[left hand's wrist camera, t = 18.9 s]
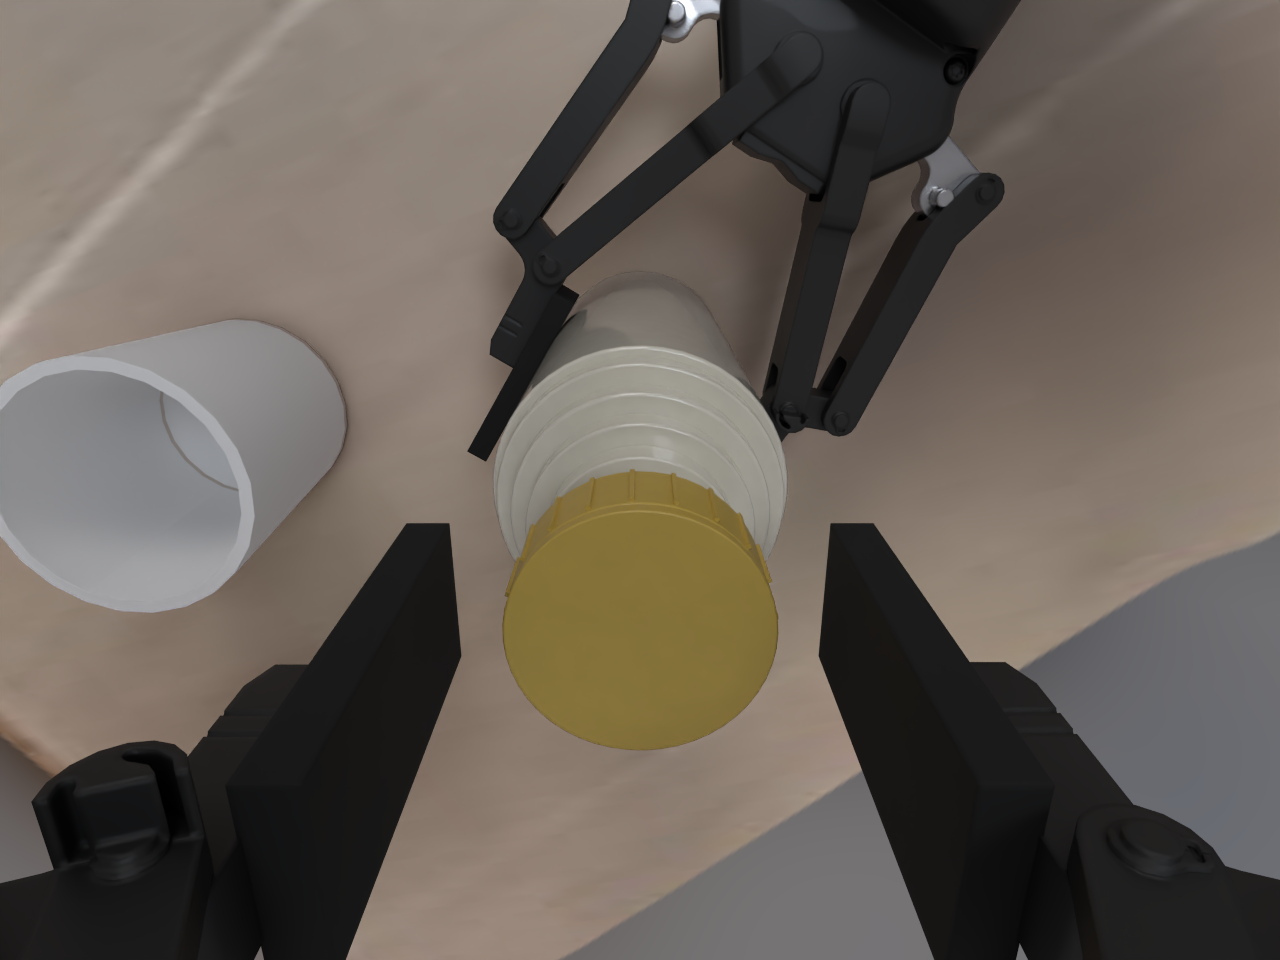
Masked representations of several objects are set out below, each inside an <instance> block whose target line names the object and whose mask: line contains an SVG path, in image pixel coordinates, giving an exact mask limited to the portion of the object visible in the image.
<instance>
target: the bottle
mask: <svg viewBox="0 0 1280 960" xmlns="http://www.w3.org/2000/svg"><path fill="white" fill-rule="evenodd" d="M630 469H635V471H642V472H657V473H664V474H670V475H671V473H676V476H677V477H680V478H684V479H687V480H689V481H691V482H694V483H696V484H698V485H701V486H702V487H704V488H706V489H709V487H710V488H711V489H713V491H714V494H716V495H717V496H718V497H719V498H721V499H722V500H723V501H725V502H726V503H727V504H728V505H729V506H730V507H731V508H732V509H733V510H734V511H735V512H736V513H737V514H738V513H739V512H740V513H741V514H742V516H743V519H744V523H745V525H746V526H747V528H748V530H749V532H750V533H751V535H752V537H753V539H754V541H755V544H756V545H757V544H759V545H760V547H761V550H762V553H763V556H764V559H765V562H766V560H767V558H768V557H769V555H770V553H771V551H772V548H773V546H774V544H775V542H776V539H777V536H778V533H779V529H780V526H781V522H782V518H783V515H784V512H785V505H786V499H787V478H788V476H787V468H786V460H785V455H784V451H783V448H782V444H781V440H780V438H779V436H778V433H777V431H776V429H775V426H774V424H773V422H772V420H771V418H770V417H769V415H768V413H767V411H766V410H765V408H764V406H763V404H762V402H761V401H760V399H759V397H758V395H757V394H756V392H755V390H754V388H753V386H752V385H751V383H750V381H749V379H748V378H747V376H746V374H745V372H744V370H743V369H742V367H741V365H740V363H739V362H738V360H737V358H736V356H735V354H734V353H733V351H732V349H731V347H730V346H729V344H728V342H727V340H726V338H725V337H724V335H723V333H722V331H721V330H720V328H719V326H718V324H717V322H716V321H715V319H714V317H713V315H712V314H711V312H710V310H709V309H708V307H707V305H706V304H705V303H704V302H703V301H702V299H701V298H700V297H699V296H698V295H697V294H696V293H695V292H694V291H693V290H691V289H690V288H689V287H687V286H686V285H685V284H683V283H681V282H679V281H677V280H676V279H674V278H671V277H668V276H666V275H663V274H658V273H654V272H644V271H638V272H627V273H622V274H618V275H615V276H612V277H609V278H607V279H605V280H603V281H601V282H599V283H598V284H596V285H595V286H593V287H592V288H590V289H589V290H588V291H587V292H586V293H585V294H583V295H582V296H581V298H580V299H579V300H578V301H577V302H576V303H575V305H574V306H573V308H572V309H571V311H570V313H569V315H568V317H567V318H566V320H565V322H564V324H563V325H562V327H561V329H560V331H559V333H558V334H557V336H556V338H555V340H554V341H553V343H552V345H551V346H550V348H549V350H548V352H547V353H546V355H545V357H544V359H543V361H542V362H541V364H540V366H539V368H538V369H537V371H536V373H535V375H534V377H533V378H532V380H531V382H530V384H529V385H528V387H527V389H526V391H525V393H524V394H523V396H522V398H521V400H520V402H519V403H518V405H517V407H516V409H515V410H514V412H513V414H512V416H511V418H510V419H509V422H508V424H507V426H506V428H505V430H504V432H503V434H502V437H501V440H500V443H499V446H498V450H497V453H496V458H495V464H494V471H493V493H494V502H495V509H496V512H497V516H498V520H499V524H500V527H501V531H502V534H503V538H504V540H505V542H506V545H507V547H508V550H509V552H510V554H511V555H512V557H513V559H514V561H515V562H516V559H517V557H520V556H521V553H522V550H523V547H524V544H525V541H526V538H527V535H528V532H529V529H530V526H531V525H532V524H534V525H536V523H537V521H538V520H539V519H540V518H541V516H542V515H543V514H544V513H545V512H546V511H547V509H548V508H549V507H551V506H552V505H553V504H554V502H555V498H556V497H558V496H559V497H560V498H561V497H562V496H564V495H565V494H567V493H568V492H570V491H571V490H573V489H575V488H577V487H579V486H580V485H582V484H584V483H586V482H589V481H590V478H592V477H594V478H595V479H597V478H600V477H603V476H607V475H612V474H616V473H623V472H630Z"/></svg>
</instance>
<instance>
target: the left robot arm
mask: <svg viewBox="0 0 1280 960" xmlns="http://www.w3.org/2000/svg"><path fill="white" fill-rule="evenodd" d="M460 658H461V647H460V636H459V625H458V614H457V602H456V591H455V580H454V569H453V558H452V547H451V536H450V525H449V523H407V524H406V525H405V526H404V528H403V529H402V531H401V532H400V534H399V535H398V536H397V538H396V539H395V541H394V542H393V544H392V545H391V547H390V548H389V549H388V551H387V552H386V554H385V555H384V557H383V558H382V560H381V561H380V562H379V564H378V565H377V567H376V568H375V570H374V571H373V573H372V574H371V575H370V577H369V578H368V580H367V581H366V583H365V584H364V586H363V587H362V588H361V590H360V591H359V593H358V594H357V596H356V597H355V599H354V600H353V601H352V603H351V604H350V606H349V607H348V609H347V610H346V611H345V613H344V614H343V616H342V617H341V619H340V620H339V622H338V623H337V624H336V626H335V627H334V629H333V630H332V632H331V633H330V635H329V636H328V637H327V639H326V640H325V642H324V643H323V645H322V646H321V648H320V649H319V650H318V652H317V653H316V655H315V656H314V658H313V659H312V661H311V662H310V663H309V665H274V666H273V667H271V668H270V669H268V670H267V671H265V672H264V673H262V674H261V675H259V676H258V677H256V678H255V679H253V680H252V681H251V682H249V683H248V684H246V685H245V686H244V687H243V688H242V689H241V690H240V692H239V693H238V694H237V695H236V697H235V698H234V699H233V700H232V702H231V703H230V704H229V705H228V707H227V708H226V709H225V710H224V716H220V717H219V718H218V719H217V721H216V722H215V723H214V724H213V726H212V727H211V728H210V729H209V731H208V736H207V737H203V738H202V739H201V741H200V742H199V743H198V745H197V746H196V747H195V748H194V750H193V751H192V752H191V753H190V755H189V756H188V757H187V754H186V753H185V752H183V751H182V750H181V749H180V748H179V747H177V746H176V745H175V744H170V743H164V742H159V741H144V742H133V743H126V744H122V745H119V746H116V747H112V748H109V749H105V750H102V751H98V752H96V753H94V754H92V755H90V756H88V757H86V758H84V759H82V760H80V761H78V762H76V763H74V764H71V765H70V766H68V767H67V768H66V769H64V770H63V771H61V772H60V773H59V774H57V775H56V776H55V777H53V778H52V779H51V780H49V781H48V782H47V783H46V784H45V785H44V786H43V788H42V789H41V790H40V791H39V793H38V794H37V795H36V797H35V798H34V799H33V800H32V805H33V808H34V811H35V814H36V817H37V820H38V823H39V826H40V829H41V832H42V835H43V838H44V841H45V844H46V847H47V850H48V853H49V856H50V859H51V862H52V865H53V868H54V870H52V871H48V872H45V873H42V874H38V875H34V876H30V877H26V878H21V879H17V880H13V881H8V882H4V883H0V960H254V959H255V957H256V955H257V952H258V951H259V948H260V947H261V948H262V952H263V957H264V960H346V958H347V955H348V952H349V950H350V947H351V944H352V942H353V939H354V936H355V934H356V931H357V929H358V926H359V923H360V921H361V918H362V915H363V913H364V910H365V908H366V905H367V902H368V900H369V897H370V894H371V892H372V889H373V887H374V884H375V881H376V879H377V876H378V873H379V871H380V868H381V866H382V863H383V860H384V858H385V855H386V852H387V850H388V847H389V845H390V842H391V839H392V837H393V834H394V831H395V829H396V826H397V824H398V821H399V818H400V816H401V813H402V810H403V808H404V805H405V803H406V800H407V797H408V795H409V792H410V789H411V787H412V784H413V782H414V779H415V776H416V774H417V771H418V768H419V766H420V763H421V761H422V758H423V755H424V753H425V750H426V747H427V745H428V742H429V740H430V737H431V734H432V732H433V729H434V726H435V724H436V721H437V719H438V716H439V713H440V711H441V708H442V705H443V703H444V700H445V698H446V695H447V692H448V690H449V687H450V684H451V682H452V679H453V677H454V674H455V671H456V669H457V666H458V663H459V661H460ZM819 658H820V661H821V663H822V666H823V669H824V671H825V674H826V677H827V679H828V682H829V684H830V687H831V690H832V692H833V695H834V698H835V700H836V703H837V705H838V708H839V711H840V713H841V716H842V719H843V721H844V724H845V726H846V729H847V732H848V734H849V737H850V740H851V742H852V745H853V747H854V750H855V753H856V755H857V758H858V761H859V763H860V766H861V768H862V771H863V774H864V776H865V779H866V782H867V784H868V787H869V789H870V792H871V795H872V797H873V800H874V802H875V805H876V808H877V810H878V813H879V816H880V818H881V821H882V824H883V826H884V829H885V831H886V834H887V837H888V839H889V842H890V844H891V847H892V850H893V852H894V855H895V858H896V860H897V863H898V866H899V868H900V871H901V873H902V876H903V879H904V881H905V884H906V887H907V889H908V892H909V894H910V897H911V900H912V902H913V905H914V907H915V910H916V913H917V915H918V918H919V921H920V923H921V926H922V929H923V931H924V934H925V936H926V939H927V942H928V944H929V947H930V950H931V952H932V955H933V957H934V960H1016V957H1017V952H1018V948H1019V943H1020V945H1021V946H1022V949H1023V951H1024V953H1025V954H1026V957H1027V958H1028V960H1280V880H1278V879H1274V878H1269V877H1265V876H1261V875H1257V874H1252V873H1248V872H1243V871H1240V870H1237V869H1233V868H1230V867H1227V866H1225V865H1224V864H1223V862H1222V861H1221V859H1220V858H1219V856H1218V855H1217V853H1216V852H1215V850H1214V849H1213V848H1212V847H1211V846H1210V845H1209V844H1208V843H1206V842H1205V841H1204V840H1203V839H1202V838H1201V837H1199V836H1198V835H1197V834H1196V833H1195V832H1193V831H1192V830H1191V829H1189V828H1188V827H1186V826H1184V825H1182V824H1180V823H1178V822H1177V821H1175V820H1173V819H1171V818H1169V817H1168V816H1166V815H1164V814H1161V813H1158V812H1155V811H1152V810H1149V809H1146V808H1143V807H1140V806H1136V805H1133V804H1132V802H1131V801H1130V800H1129V799H1128V797H1127V796H1126V795H1125V794H1124V792H1123V791H1122V790H1121V789H1120V787H1119V786H1118V785H1117V784H1116V782H1115V781H1114V780H1113V779H1112V777H1111V776H1110V775H1109V773H1108V772H1107V771H1106V770H1105V768H1104V767H1103V766H1102V765H1101V763H1100V762H1099V761H1098V760H1097V758H1096V757H1095V756H1094V755H1093V754H1092V752H1091V751H1090V750H1089V748H1088V747H1087V746H1086V745H1085V743H1084V742H1083V741H1082V740H1081V738H1080V737H1079V736H1078V735H1077V734H1073V728H1072V727H1071V726H1070V725H1069V723H1068V722H1067V721H1066V720H1065V718H1064V717H1063V716H1062V715H1061V713H1057V711H1056V707H1055V706H1054V705H1053V703H1052V702H1051V701H1050V700H1049V698H1048V697H1047V696H1046V695H1045V693H1044V692H1043V691H1042V690H1041V688H1040V687H1039V686H1038V685H1037V683H1035V682H1034V681H1032V680H1031V679H1029V678H1028V677H1026V676H1025V675H1023V674H1022V673H1020V672H1019V671H1017V670H1016V669H1014V668H1013V667H1012V666H1010V665H1009V664H1007V663H1006V662H969V661H968V659H967V658H966V656H965V655H964V653H963V652H962V650H961V649H960V648H959V646H958V645H957V643H956V642H955V640H954V639H953V637H952V636H951V635H950V633H949V632H948V630H947V629H946V627H945V626H944V624H943V623H942V622H941V620H940V619H939V617H938V616H937V614H936V613H935V611H934V610H933V609H932V607H931V606H930V604H929V603H928V601H927V600H926V599H925V597H924V596H923V594H922V593H921V591H920V590H919V588H918V587H917V586H916V584H915V583H914V581H913V580H912V578H911V577H910V575H909V574H908V573H907V571H906V570H905V568H904V567H903V565H902V564H901V562H900V561H899V560H898V558H897V557H896V555H895V554H894V552H893V551H892V549H891V548H890V547H889V545H888V544H887V542H886V541H885V539H884V538H883V536H882V535H881V534H880V532H879V531H878V529H877V528H876V526H875V525H874V524H873V523H831V525H830V536H829V547H828V558H827V569H826V580H825V591H824V602H823V614H822V625H821V636H820V647H819Z"/></svg>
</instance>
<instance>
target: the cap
mask: <svg viewBox="0 0 1280 960" xmlns="http://www.w3.org/2000/svg"><path fill="white" fill-rule="evenodd" d="M770 582H772V580H771V577H770V574H769V571H768V568H767V565H766V562H765V559H764V556H763V553H762V550H761V547H760V545H759V544H757V545H756V544H755V541H754V539H753V537H752V535H751V533H750V532H749V530H748V528H747V526H746V525H745V523H744V519H743V516H742V514H741V513H740V512H739V513H738V514H737V513H736V512H735V511H734V510H733V509H732V508H731V507H730V506H729V505H728V504H727V503H726V502H725V501H723V500H722V499H721V498H719V497H718V496H717V495H716V494H714V491H713V489H711V488H710V487H709V489H706V488H704V487H702V486H701V485H698V484H696V483H694V482H691V481H689V480H687V479H684V478H680V477H677V476H676V473H671V475H670V474H664V473H657V472H642V471H635V469H630V472H623V473H616V474H612V475H607V476H603V477H600V478H597V479H595V478H594V477H592V478H590V481H589V482H586V483H584V484H582V485H580V486H579V487H577V488H575V489H573V490H571V491H570V492H568V493H567V494H565V495H564V496H562V497H561V498H560V497H559V496H558V497H556V498H555V502H554V504H553V505H552V506H551V507H549V508H548V509H547V511H546V512H545V513H544V514H543V515H542V516H541V518H540V519H539V520H538V521H537V523H536V525H534V524H532V525H531V526H530V529H529V532H528V535H527V538H526V541H525V544H524V547H523V550H522V553H521V556H520V557H517V559H516V562H515V565H514V568H513V571H512V574H511V577H510V580H509V584H508V587H507V590H506V593H505V596H507V597H508V598H507V602H506V605H505V609H504V617H503V643H504V649H505V654H506V658H507V661H508V664H509V667H510V670H511V672H512V674H513V676H514V678H515V680H516V682H517V684H518V686H519V687H520V689H521V690H522V692H523V693H524V695H525V696H526V698H527V699H528V700H529V701H530V702H531V703H532V704H533V706H534V707H535V708H536V709H537V710H538V711H539V712H540V713H541V714H543V715H544V716H545V717H546V718H547V719H548V720H550V721H551V722H552V723H554V724H555V725H557V726H558V727H560V728H561V729H563V730H565V731H567V732H569V733H571V734H573V735H575V736H577V737H578V738H581V739H584V740H586V741H589V742H592V743H595V744H599V745H603V746H607V747H611V748H618V749H625V750H654V749H664V748H669V747H674V746H679V745H682V744H685V743H689V742H692V741H695V740H697V739H699V738H702V737H704V736H706V735H709V734H710V733H712V732H714V731H716V730H717V729H719V728H721V727H723V726H724V725H725V724H727V723H728V722H729V721H731V720H732V719H733V718H735V717H736V716H737V715H738V714H739V713H740V712H741V711H742V710H743V709H744V708H745V707H747V706H748V704H749V703H750V702H751V701H752V699H753V698H754V697H755V696H756V694H757V693H758V692H759V690H760V688H761V687H762V685H763V683H764V682H765V680H766V678H767V676H768V673H769V671H770V669H771V666H772V664H773V660H774V656H775V653H776V649H777V640H778V614H777V611H776V607H775V602H774V599H773V596H772V593H771V589H770V586H769V583H770Z"/></svg>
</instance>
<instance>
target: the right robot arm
mask: <svg viewBox="0 0 1280 960" xmlns="http://www.w3.org/2000/svg"><path fill="white" fill-rule="evenodd" d="M1020 1H1021V0H630V3H629V7H628V10H627V14H626V18H625V20H624V21H623V23H622V24H621V26H620V27H619V29H618V30H617V32H616V33H615V35H614V36H613V38H612V39H611V41H610V42H609V43H608V45H607V46H606V48H605V49H604V51H603V52H602V54H601V55H600V57H599V58H598V60H597V61H596V62H595V64H594V65H593V67H592V68H591V70H590V71H589V73H588V74H587V76H586V77H585V79H584V80H583V82H582V83H581V84H580V86H579V87H578V89H577V90H576V92H575V93H574V95H573V96H572V98H571V99H570V101H569V102H568V104H567V105H566V106H565V108H564V109H563V111H562V112H561V114H560V115H559V117H558V118H557V120H556V121H555V123H554V124H553V126H552V127H551V128H550V130H549V131H548V133H547V134H546V136H545V137H544V139H543V140H542V142H541V143H540V145H539V146H538V148H537V149H536V150H535V152H534V153H533V155H532V156H531V158H530V159H529V161H528V162H527V164H526V165H525V167H524V168H523V170H522V171H521V172H520V174H519V175H518V177H517V178H516V180H515V181H514V183H513V184H512V186H511V187H510V189H509V190H508V192H507V193H506V194H505V196H504V197H503V199H502V200H501V202H500V203H499V205H498V206H497V208H496V210H495V212H494V215H493V223H494V226H495V228H496V230H497V231H498V232H499V233H500V235H502V236H504V237H506V239H507V240H508V241H509V242H510V243H511V245H512V246H513V247H514V248H515V249H516V251H517V252H518V253H519V254H520V256H521V258H522V259H523V262H524V266H525V274H524V278H523V281H522V283H521V285H520V286H519V288H518V290H517V292H516V294H515V296H514V298H513V300H512V301H511V303H510V305H509V307H508V309H507V311H506V313H505V315H504V316H503V318H502V320H501V322H500V324H499V326H498V328H497V329H496V331H495V333H494V335H493V337H492V339H491V346H490V355H491V356H493V357H495V358H497V359H498V360H500V361H502V362H503V363H505V364H507V365H509V366H510V367H512V368H513V369H512V371H511V373H510V375H509V377H508V379H507V380H506V382H505V384H504V386H503V388H502V389H501V391H500V393H499V395H498V397H497V399H496V400H495V402H494V404H493V406H492V408H491V409H490V411H489V413H488V415H487V417H486V418H485V420H484V422H483V424H482V426H481V428H480V429H479V431H478V433H477V435H476V437H475V438H474V440H473V442H472V444H471V446H470V447H469V449H468V451H467V452H469V453H471V454H473V455H475V456H477V457H478V458H480V459H482V460H484V461H487V459H488V457H489V455H490V453H491V452H492V450H493V448H494V446H495V445H496V443H497V441H498V439H499V437H500V436H501V434H502V432H503V430H504V429H505V427H506V425H507V423H508V421H509V419H510V418H511V416H512V414H513V412H514V410H515V409H516V407H517V405H518V403H519V402H520V400H521V398H522V396H523V394H524V393H525V391H526V389H527V387H528V385H529V384H530V382H531V380H532V378H533V377H534V375H535V373H536V371H537V369H538V368H539V366H540V364H541V362H542V361H543V359H544V357H545V355H546V353H547V352H548V350H549V348H550V346H551V345H552V343H553V341H554V340H555V338H556V336H557V334H558V333H559V331H560V329H561V327H562V325H563V324H564V322H565V320H566V318H567V317H568V315H569V313H570V311H571V309H572V308H573V306H574V304H575V302H576V300H577V299H578V297H579V294H577V293H575V292H574V291H572V290H570V289H569V288H567V287H565V286H564V285H563V283H564V281H565V279H566V277H567V276H569V275H570V274H571V273H572V272H573V271H575V270H576V269H577V268H578V267H579V266H581V265H582V264H583V263H584V262H585V261H587V260H588V259H589V258H590V257H591V256H593V255H594V254H595V253H596V252H597V251H599V250H600V249H601V248H602V247H603V246H605V245H606V244H607V243H608V242H610V241H611V240H612V239H613V238H614V237H616V236H617V235H618V234H619V233H620V232H622V231H623V230H624V229H625V228H626V227H628V226H629V225H630V224H631V223H632V222H634V221H635V220H636V219H637V218H638V217H640V216H641V215H642V214H643V213H645V212H646V211H647V210H648V209H649V208H651V207H652V206H653V205H654V204H655V203H657V202H658V201H659V200H660V199H661V198H663V197H664V196H665V195H666V194H667V193H669V192H670V191H671V190H672V189H673V188H675V187H676V186H677V185H678V184H679V183H681V182H682V181H683V180H684V179H686V178H687V177H688V176H689V175H690V174H692V173H693V172H694V171H695V170H696V169H698V168H699V167H700V166H701V165H702V164H704V163H705V162H706V161H707V160H709V159H710V158H711V157H712V156H714V155H715V154H716V153H717V152H719V151H720V150H721V149H722V148H724V147H725V146H726V145H727V144H728V143H730V142H731V141H733V143H732V144H733V145H734V146H736V147H737V148H739V149H740V150H742V151H743V152H745V153H746V154H748V155H749V156H751V157H754V158H757V159H760V160H764V161H767V162H770V163H772V164H774V165H775V167H776V168H777V169H778V170H779V171H780V172H781V174H782V175H783V176H784V177H785V178H786V180H787V181H788V182H790V183H791V184H793V185H794V186H796V187H797V188H799V189H800V190H802V191H803V192H805V193H807V194H806V198H805V203H804V207H803V212H802V226H801V231H800V236H799V240H798V244H797V248H796V253H795V257H794V261H793V265H792V270H791V274H790V278H789V282H788V287H787V291H786V295H785V299H784V304H783V308H782V312H781V316H780V321H779V325H778V329H777V333H776V338H775V342H774V346H773V350H772V355H771V359H770V363H769V367H768V372H767V376H766V380H765V384H764V388H763V396H762V398H761V399H760V401H761V402H762V404H763V406H764V408H765V410H766V411H767V413H768V415H769V417H770V418H771V420H772V422H773V424H774V426H775V429H776V431H777V433H778V436H779V438H780V440H781V442H782V441H783V439H784V438H785V437H786V436H787V434H788V433H796V432H798V431H801V430H802V429H803V428H805V427H807V428H813V429H819V430H824V431H828V432H829V433H830V434H832V435H834V436H845V435H847V434H849V433H850V432H852V430H853V429H854V428H855V427H856V425H857V423H858V421H859V420H860V418H861V416H862V414H863V412H864V411H865V409H866V407H867V405H868V403H869V402H870V400H871V398H872V396H873V394H874V393H875V391H876V389H877V387H878V385H879V384H880V382H881V380H882V378H883V376H884V375H885V373H886V371H887V369H888V367H889V366H890V364H891V362H892V360H893V358H894V357H895V355H896V353H897V351H898V349H899V348H900V346H901V344H902V342H903V340H904V339H905V337H906V335H907V333H908V331H909V330H910V328H911V326H912V324H913V322H914V321H915V319H916V317H917V315H918V313H919V312H920V310H921V308H922V306H923V304H924V303H925V301H926V299H927V297H928V295H929V294H930V292H931V290H932V288H933V286H934V285H935V283H936V281H937V279H938V277H939V276H940V274H941V272H942V270H943V268H944V267H945V265H946V263H947V261H948V259H949V258H950V256H951V254H952V252H953V250H954V249H955V247H956V245H957V244H958V243H959V242H960V241H961V240H962V239H963V238H964V237H965V236H966V235H967V234H968V233H970V232H971V231H972V230H973V229H974V228H975V227H976V226H977V225H978V224H979V223H980V222H981V221H982V220H983V219H984V218H985V217H986V216H987V215H988V214H990V213H991V212H992V211H993V210H994V209H995V208H996V207H997V206H998V205H999V203H1000V202H1001V201H1002V198H1003V195H1004V184H1003V182H1002V180H1001V178H1000V177H998V176H997V175H996V174H992V173H980V172H979V171H978V170H977V169H976V168H975V167H974V165H973V164H972V163H971V162H970V161H969V159H968V158H967V157H966V156H965V155H964V153H963V152H962V151H961V150H960V149H959V147H958V146H957V145H956V144H955V143H954V141H953V140H952V139H951V138H950V137H949V134H950V132H951V129H952V126H953V121H954V113H955V108H956V104H957V100H958V97H959V95H960V92H961V90H962V88H963V86H964V85H965V83H966V81H967V80H968V78H969V77H970V76H971V74H972V73H973V71H974V70H975V68H976V67H977V65H978V64H979V62H980V61H981V59H982V58H983V56H984V55H985V53H986V52H987V50H988V49H989V47H990V46H991V44H992V43H993V41H994V40H995V38H996V37H997V35H998V34H999V32H1000V31H1001V29H1002V28H1003V26H1004V25H1005V23H1006V22H1007V20H1008V19H1009V17H1010V16H1011V14H1012V13H1013V11H1014V10H1015V8H1016V7H1017V5H1018V4H1019V2H1020ZM703 19H714V20H717V35H718V55H719V76H720V98H719V99H718V100H717V101H716V102H715V103H713V104H712V105H711V106H710V107H709V108H707V109H706V110H705V111H704V112H703V113H702V114H700V115H699V116H698V117H697V118H696V119H695V120H693V121H692V122H691V123H690V124H689V125H688V126H687V127H685V128H684V129H683V130H682V131H681V132H680V133H678V134H677V135H676V136H675V137H674V138H672V139H671V140H670V141H669V142H668V143H667V144H665V145H664V146H663V147H662V148H661V149H659V150H658V151H657V152H656V153H655V154H654V155H652V156H651V157H650V158H649V159H648V160H646V161H645V162H644V163H643V164H642V165H641V166H639V167H638V168H637V169H636V170H635V171H633V172H632V173H631V174H630V175H629V176H628V177H626V178H625V179H624V180H623V181H622V182H620V183H619V184H618V185H617V186H616V187H615V188H613V189H612V190H611V191H610V192H609V193H607V194H606V195H605V196H604V197H603V198H602V199H600V200H599V201H598V202H597V203H596V204H594V205H593V206H592V207H591V208H590V209H589V210H587V211H586V212H585V213H584V214H583V215H581V216H580V217H579V218H578V219H577V220H576V221H574V222H573V223H572V224H571V225H570V226H568V227H567V228H566V229H565V230H564V231H563V232H561V233H560V234H559V235H558V236H556V235H555V234H554V232H553V231H552V230H551V229H550V227H549V226H548V225H547V224H546V222H545V221H544V220H543V219H542V218H543V217H544V215H545V214H546V213H547V211H548V210H549V208H550V207H551V205H552V204H553V203H554V201H555V200H556V198H557V197H558V195H559V194H560V193H561V191H562V190H563V188H564V187H565V186H566V184H567V183H568V181H569V180H570V178H571V177H572V176H573V174H574V173H575V171H576V170H577V168H578V167H579V166H580V164H581V163H582V161H583V160H584V159H585V157H586V156H587V154H588V153H589V151H590V150H591V149H592V147H593V146H594V144H595V143H596V142H597V140H598V139H599V137H600V136H601V134H602V133H603V132H604V130H605V129H606V127H607V126H608V124H609V123H610V122H611V120H612V119H613V117H614V116H615V115H616V113H617V112H618V110H619V109H620V107H621V106H622V105H623V103H624V102H625V100H626V99H627V97H628V96H629V95H630V93H631V92H632V90H633V89H634V88H635V86H636V85H637V83H638V82H639V80H640V79H641V78H642V76H643V75H644V73H645V72H646V70H647V69H648V67H649V66H650V64H651V62H652V61H653V59H654V57H655V55H656V53H657V51H658V49H659V47H660V44H661V42H662V40H663V41H666V42H669V43H679V42H681V41H683V40H684V39H685V38H686V37H687V36H688V35H689V33H690V32H691V30H692V28H693V27H694V25H696V24H697V23H698V22H699V21H701V20H703ZM916 161H917V162H918V163H919V165H920V169H921V176H920V180H919V182H918V184H917V185H916V187H915V189H914V190H913V193H912V196H911V203H912V207H913V208H914V210H915V212H914V213H913V215H912V216H911V217H910V218H909V220H908V221H907V222H906V224H905V225H904V226H903V228H902V229H901V231H900V233H899V234H898V236H897V238H896V240H895V241H894V243H893V245H892V247H891V249H890V251H889V253H888V255H887V257H886V258H885V260H884V262H883V264H882V266H881V268H880V270H879V272H878V274H877V275H876V277H875V279H874V281H873V283H872V285H871V287H870V289H869V291H868V292H867V294H866V296H865V298H864V300H863V302H862V304H861V306H860V308H859V310H858V311H857V313H856V315H855V317H854V319H853V321H852V323H851V325H850V327H849V328H848V330H847V332H846V334H845V336H844V338H843V340H842V342H841V344H840V345H839V347H838V349H837V351H836V353H835V355H834V357H833V359H832V361H831V362H830V364H829V366H828V368H827V370H826V372H825V374H824V376H823V378H822V379H821V381H820V383H819V385H818V387H817V388H812V386H813V382H814V378H815V374H816V371H817V367H818V363H819V359H820V355H821V351H822V347H823V343H824V339H825V336H826V332H827V328H828V324H829V320H830V316H831V312H832V308H833V305H834V301H835V297H836V293H837V289H838V285H839V281H840V277H841V273H842V270H843V266H844V262H845V258H846V254H847V250H848V246H849V242H850V239H851V236H852V234H853V233H854V231H855V230H856V227H857V225H858V222H859V219H860V216H861V212H862V208H863V204H864V200H865V196H866V192H867V189H868V185H869V182H871V181H873V180H875V179H877V178H880V177H882V176H884V175H887V174H889V173H891V172H893V171H896V170H898V169H900V168H902V167H905V166H907V165H909V164H912V163H914V162H916Z"/></svg>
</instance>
